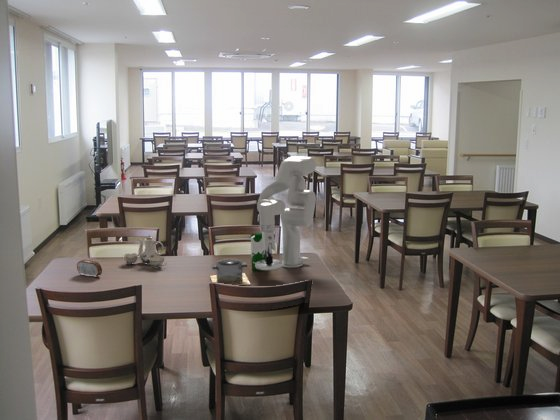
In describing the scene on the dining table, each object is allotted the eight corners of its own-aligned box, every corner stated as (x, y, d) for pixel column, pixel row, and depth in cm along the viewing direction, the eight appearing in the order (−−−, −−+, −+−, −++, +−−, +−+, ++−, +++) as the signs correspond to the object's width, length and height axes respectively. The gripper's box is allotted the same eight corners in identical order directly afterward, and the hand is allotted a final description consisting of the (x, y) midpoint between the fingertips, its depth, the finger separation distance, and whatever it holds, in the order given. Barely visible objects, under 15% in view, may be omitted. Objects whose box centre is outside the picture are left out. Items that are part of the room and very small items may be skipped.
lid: (279, 260, 301) (278, 248, 300) (285, 268, 288) (285, 256, 287) (252, 262, 298) (252, 251, 297) (258, 271, 285) (257, 259, 284)
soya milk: (249, 270, 310) (248, 234, 306) (255, 265, 318) (255, 230, 314) (265, 271, 307) (264, 235, 303) (270, 267, 315) (270, 231, 311)
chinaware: (118, 268, 321) (114, 240, 316) (134, 258, 336) (131, 230, 332) (163, 273, 313) (160, 244, 308) (177, 261, 328) (175, 234, 323)
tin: (102, 277, 301) (101, 261, 300) (98, 278, 298) (97, 263, 297) (80, 273, 307) (79, 258, 306) (76, 275, 305) (75, 259, 303)
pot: (244, 274, 303) (244, 256, 301) (250, 285, 286) (250, 265, 284) (210, 277, 299) (209, 258, 297) (214, 288, 282) (213, 268, 280)
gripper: (278, 231, 282) (279, 266, 286) (271, 222, 297) (272, 256, 301) (263, 232, 280) (264, 268, 284) (256, 224, 295) (258, 258, 300)
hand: (268, 262), depth 293 cm, fingers closed on lid, 3 cm apart
